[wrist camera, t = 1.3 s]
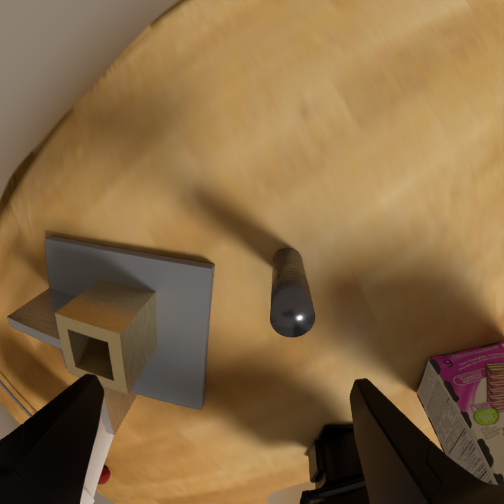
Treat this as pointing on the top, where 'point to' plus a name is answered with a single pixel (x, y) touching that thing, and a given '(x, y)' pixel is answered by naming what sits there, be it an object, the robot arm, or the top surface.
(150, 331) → the hinge
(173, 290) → the base plate
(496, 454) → the candy bar box
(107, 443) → the foam cup
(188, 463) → the top surface
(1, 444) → the robot arm
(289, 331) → the hinge pin
